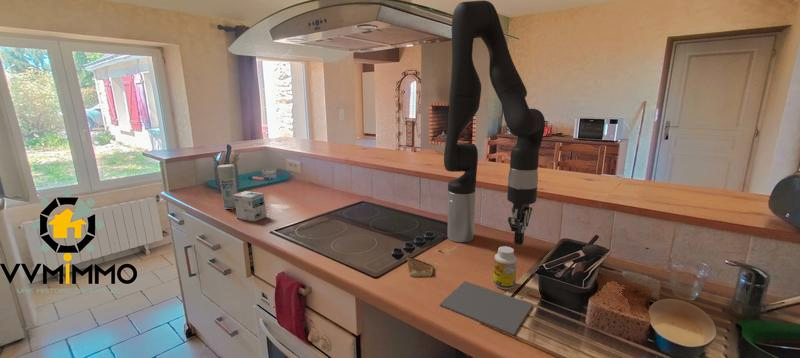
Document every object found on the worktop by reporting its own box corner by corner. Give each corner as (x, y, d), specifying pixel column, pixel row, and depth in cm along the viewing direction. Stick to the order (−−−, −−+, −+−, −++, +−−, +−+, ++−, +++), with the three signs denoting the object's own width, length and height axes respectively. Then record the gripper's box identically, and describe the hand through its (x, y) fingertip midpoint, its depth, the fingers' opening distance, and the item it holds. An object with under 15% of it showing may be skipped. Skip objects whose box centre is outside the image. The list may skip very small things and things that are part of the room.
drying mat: (464, 282, 93) (464, 281, 93) (532, 305, 82) (533, 304, 82) (439, 305, 83) (439, 304, 83) (513, 335, 72) (513, 334, 72)
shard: (407, 260, 107) (407, 255, 106) (431, 259, 107) (431, 254, 106) (408, 278, 96) (408, 272, 96) (435, 277, 96) (435, 271, 96)
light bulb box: (267, 217, 147) (264, 192, 144) (254, 222, 141) (251, 197, 138) (249, 213, 151) (245, 190, 148) (236, 218, 145) (232, 194, 143)
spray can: (239, 204, 164) (234, 163, 159) (238, 208, 158) (232, 166, 153) (224, 206, 162) (218, 165, 157) (223, 210, 156) (216, 167, 151)
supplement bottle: (491, 279, 94) (492, 244, 91) (511, 279, 94) (513, 244, 91) (496, 290, 89) (498, 254, 86) (518, 290, 88) (520, 254, 86)
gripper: (517, 177, 100) (514, 233, 104) (499, 187, 90) (496, 248, 94) (544, 181, 95) (539, 238, 100) (528, 191, 85) (524, 255, 89)
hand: (518, 243), depth 97 cm, fingers closed
